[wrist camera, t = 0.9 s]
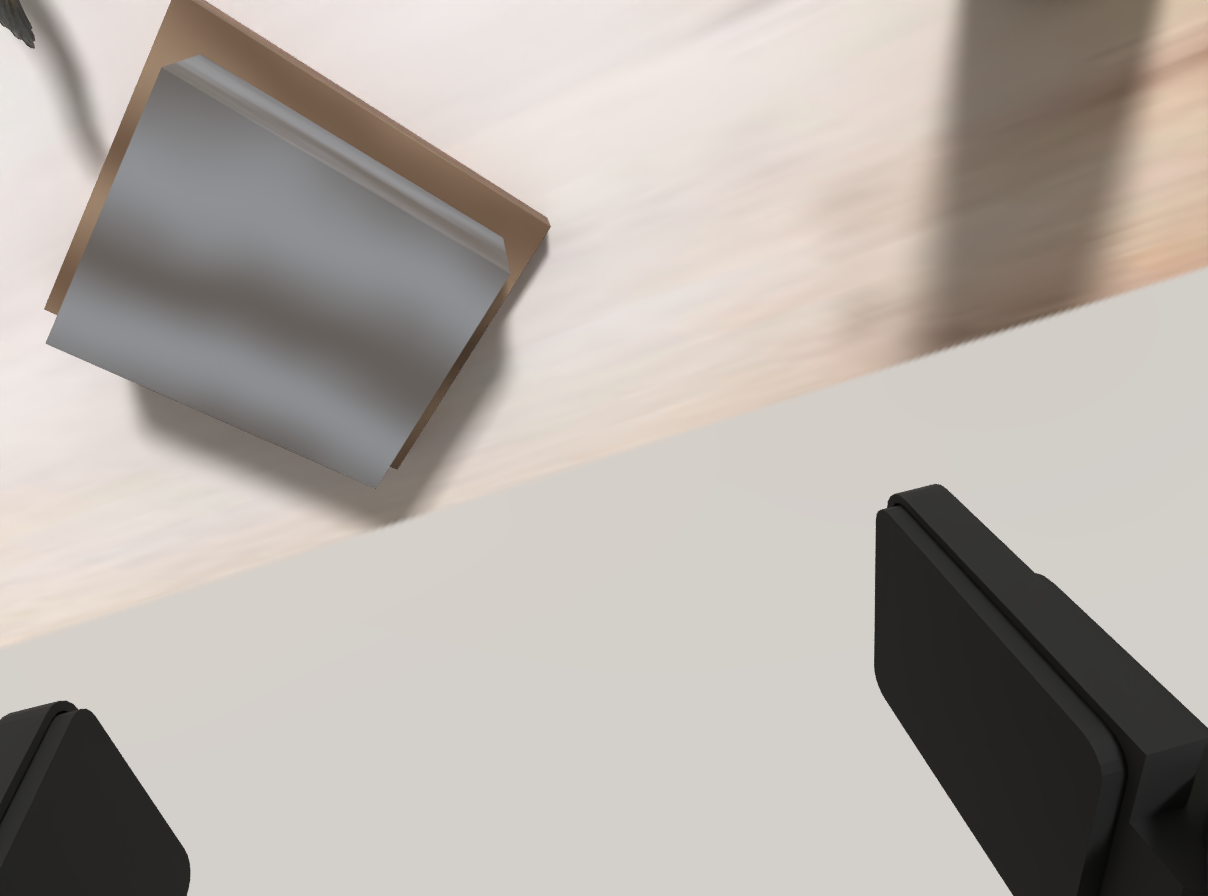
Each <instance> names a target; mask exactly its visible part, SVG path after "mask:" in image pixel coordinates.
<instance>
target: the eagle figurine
mask: <svg viewBox="0 0 1208 896" xmlns="http://www.w3.org/2000/svg"><path fill="white" fill-rule="evenodd" d="M0 23H1V24H2V26H4V27H6V28H8V29H9V30H10V31H11V32H12V33H13V35H14V36H15V37H17V38H18V39H20V40H21V39H22V40H23V41H24V42H25V44H26V45H27V46H29V47H30V48H33V49H34V48H35V46H34V43H33V42H34V41H35V37H34V34H33V32H32V31H31V29H32V26H31V24H30V22H29V20H28V19H27V17H26V15H25V13H24V10H23V8H22V6H21V4H20V1H19V0H0Z"/></svg>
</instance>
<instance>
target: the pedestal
mask: <svg viewBox="0 0 1208 896" xmlns="http://www.w3.org/2000/svg"><path fill="white" fill-rule="evenodd" d="M550 227H551V226H550V224H549V221H548V219H547V218H546V217H545V216H543V215H542V214H540V213H539V212H537V211H535V210H534V209H532V208H531V207H529V206H528V205H526V204H524V203H523V202H521V201H520V200H518V199H517V198H515V197H513V196H512V195H510V194H509V193H507V192H505V191H504V190H502V189H501V188H499V187H498V186H496V185H494V184H493V183H491V182H490V181H488V180H487V179H485V178H483V177H482V176H480V175H479V174H477V173H476V172H474V171H472V170H471V169H469V168H468V167H466V166H465V165H463V164H461V163H460V162H458V161H457V160H455V159H454V158H452V157H450V156H449V155H447V154H446V153H444V152H442V151H441V150H439V149H438V148H436V147H435V146H433V145H431V144H430V143H428V142H427V141H425V140H424V139H422V138H420V137H419V136H417V135H416V134H414V133H413V132H411V131H409V130H408V129H406V128H405V127H403V126H402V125H400V124H398V123H397V122H395V121H394V120H392V119H391V118H389V117H387V116H386V115H384V114H383V113H381V112H379V111H378V110H376V109H375V108H373V107H372V106H370V105H368V104H367V103H365V102H364V101H362V100H361V99H359V98H357V97H356V96H354V95H353V94H351V93H350V92H348V91H346V90H345V89H343V88H342V87H340V86H339V85H337V84H335V83H334V82H332V81H331V80H329V79H327V78H326V77H324V76H323V75H321V74H320V73H318V72H316V71H315V70H313V69H312V68H310V67H309V66H307V65H305V64H304V63H302V62H301V61H299V60H298V59H296V58H294V57H293V56H291V55H290V54H288V53H287V52H285V51H283V50H282V49H280V48H279V47H277V46H276V45H274V44H272V43H271V42H269V41H268V40H266V39H264V38H263V37H261V36H260V35H258V34H257V33H255V32H253V31H252V30H250V29H249V28H247V27H246V26H244V25H242V24H241V23H239V22H238V21H236V20H235V19H233V18H231V17H230V16H228V15H227V14H225V13H224V12H222V11H220V10H219V9H217V8H216V7H214V6H213V5H211V4H209V3H208V2H206V1H205V0H171V2H170V5H169V7H168V10H167V12H166V15H165V17H164V19H163V22H162V24H161V27H160V29H159V32H158V34H157V36H156V39H155V41H154V44H153V46H152V49H151V51H150V53H149V56H148V58H147V61H146V63H145V66H144V68H143V70H142V73H141V75H140V78H139V80H138V83H137V85H136V87H135V90H134V92H133V95H132V97H131V100H130V102H129V104H128V107H127V109H126V112H125V114H124V117H123V119H122V121H121V124H120V126H119V129H118V131H117V134H116V136H115V138H114V141H113V143H112V146H111V148H110V151H109V153H108V155H107V158H106V160H105V163H104V165H103V167H102V170H101V172H100V175H99V177H98V180H97V182H96V184H95V187H94V189H93V192H92V194H91V197H90V199H89V201H88V204H87V206H86V209H85V211H84V214H83V216H82V218H81V221H80V223H79V226H78V228H77V231H76V233H75V235H74V238H73V240H72V243H71V245H70V248H69V250H68V252H67V255H66V257H65V260H64V262H63V265H62V267H61V269H60V272H59V274H58V277H57V279H56V282H55V284H54V286H53V289H52V291H51V294H50V296H49V299H48V301H47V303H46V306H45V308H44V309H45V310H47V311H49V312H51V313H54V314H56V315H57V317H56V320H55V322H54V325H53V327H52V329H51V332H50V334H49V336H48V339H47V341H46V344H48V345H50V346H52V347H55V348H57V349H59V350H62V351H64V352H66V353H68V354H71V355H73V356H75V357H78V358H80V359H82V360H84V361H87V362H89V363H91V364H93V365H96V366H98V367H100V368H103V369H105V370H107V371H109V372H112V373H114V374H116V375H118V376H121V377H123V378H125V379H128V380H130V381H132V382H134V383H137V384H139V385H141V386H143V387H146V388H148V389H150V390H153V391H155V392H157V393H159V394H162V395H164V396H166V397H168V398H171V399H173V400H175V401H178V402H180V403H182V404H184V405H187V406H189V407H191V408H193V409H196V410H198V411H200V412H203V413H205V414H207V415H209V416H212V417H214V418H216V419H218V420H221V421H223V422H225V423H228V424H230V425H232V426H234V427H237V428H239V429H241V430H243V431H246V432H248V433H250V434H253V435H255V436H257V437H259V438H262V439H264V440H266V441H268V442H271V443H273V444H275V445H278V446H280V447H282V448H284V449H287V450H289V451H291V452H293V453H296V454H298V455H300V456H303V457H305V458H307V459H309V460H312V461H314V462H316V463H319V464H321V465H323V466H325V467H328V468H330V469H332V470H334V471H337V472H339V473H341V474H344V475H346V476H348V477H350V478H353V479H355V480H357V481H359V482H362V483H364V484H366V485H369V486H371V487H373V488H375V489H376V487H377V486H378V484H379V483H380V481H381V479H382V478H383V476H384V475H385V473H386V471H387V470H388V468H389V467H392V468H394V469H398V468H399V466H400V464H401V463H402V461H403V460H404V458H405V457H406V455H407V453H408V452H409V450H410V449H411V447H412V445H413V444H414V442H415V441H416V439H417V438H418V436H419V434H420V433H421V431H422V430H423V428H424V426H425V425H426V423H427V422H428V420H429V419H430V417H431V415H432V414H433V412H434V411H435V409H436V408H437V406H438V404H439V403H440V401H441V400H442V398H443V396H444V395H445V393H446V392H447V390H448V389H449V387H450V385H451V384H452V382H453V381H454V379H455V377H456V376H457V374H458V373H459V371H460V370H461V368H462V366H463V365H464V363H465V362H466V360H467V358H468V357H469V355H470V354H471V352H472V351H473V349H474V347H475V346H476V344H477V343H478V341H479V339H480V338H481V336H482V335H483V333H484V332H485V330H486V328H487V327H488V325H489V324H490V322H491V320H492V319H493V317H494V316H495V314H496V313H497V311H498V309H499V308H500V306H501V305H502V303H503V301H504V300H505V298H506V297H507V295H508V294H509V292H510V290H511V289H512V287H513V286H514V284H515V283H516V281H517V279H518V278H519V276H520V275H521V273H522V271H523V270H524V268H525V267H526V265H527V264H528V262H529V260H530V259H531V257H532V256H533V254H534V252H535V251H536V249H537V248H538V246H539V245H540V243H541V241H542V240H543V238H544V237H545V235H546V233H547V232H548V230H549V229H550Z"/></svg>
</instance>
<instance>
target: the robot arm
mask: <svg viewBox="0 0 1208 896" xmlns="http://www.w3.org/2000/svg"><path fill="white" fill-rule="evenodd" d="M875 562H876V563H875V646H874V650H875V651H874V652H875V653H874V668H875V675H876V680H877V682H878V686H879V688H880V690H881V693H882V695H883V696H884V698H885V700H886V701H887V703H888V704H889V706H890V707H891V709H892V710H893V712H894V713H895V715H896V716H897V718H898V720H899V721H900V723H901V724H902V726H903V727H904V729H905V730H906V732H907V733H908V735H909V736H910V738H911V739H912V741H913V742H914V744H915V746H916V747H917V749H918V750H919V752H920V753H921V755H922V756H923V758H924V759H925V761H926V763H927V764H928V766H929V767H930V769H931V770H932V772H933V773H934V775H935V776H936V778H937V779H938V781H939V782H940V784H941V786H942V787H943V788H944V790H945V792H946V793H947V795H948V796H949V798H950V799H951V801H952V802H953V804H954V805H955V807H956V808H957V810H958V812H959V813H960V815H961V816H962V818H963V819H964V821H965V822H966V824H967V825H968V827H969V828H970V830H971V831H972V833H973V835H974V836H975V837H976V839H977V841H978V842H979V844H980V845H981V847H982V848H983V850H984V851H985V853H986V854H987V856H988V858H989V859H990V861H991V862H992V864H993V865H994V867H995V868H996V870H997V871H998V873H999V874H1000V876H1001V877H1002V879H1003V880H1004V882H1005V884H1006V885H1007V887H1008V888H1009V890H1010V891H1011V893H1012V894H1013V896H1208V728H1207V727H1206V726H1205V725H1204V724H1203V723H1202V722H1201V721H1200V720H1199V719H1198V718H1197V717H1195V716H1194V715H1193V714H1192V713H1191V712H1190V711H1189V710H1188V709H1187V708H1186V707H1185V706H1184V705H1183V704H1182V703H1181V702H1179V700H1177V699H1176V698H1175V697H1174V696H1173V695H1172V694H1171V693H1170V692H1169V691H1168V690H1167V689H1166V688H1165V687H1163V686H1162V685H1161V684H1160V683H1159V682H1158V681H1157V680H1156V679H1155V678H1154V677H1153V676H1152V675H1151V674H1150V673H1149V672H1148V671H1147V670H1145V669H1144V668H1143V667H1142V666H1141V665H1140V664H1139V663H1138V662H1137V661H1136V660H1135V659H1134V658H1133V657H1132V656H1131V655H1130V654H1129V653H1127V652H1126V651H1125V650H1124V649H1123V648H1122V647H1121V646H1120V645H1119V644H1118V643H1117V642H1116V641H1115V640H1114V639H1112V637H1110V636H1109V635H1108V634H1107V633H1106V632H1105V631H1104V630H1103V629H1102V628H1101V627H1100V626H1099V625H1098V624H1097V623H1096V622H1094V621H1093V620H1092V619H1091V618H1090V617H1089V616H1088V615H1087V614H1086V613H1085V612H1084V611H1083V610H1082V609H1081V608H1080V607H1078V605H1076V604H1075V603H1074V602H1073V601H1072V600H1071V599H1070V598H1069V597H1068V596H1067V595H1066V594H1065V593H1064V592H1063V591H1062V590H1060V589H1059V588H1058V587H1057V586H1056V585H1055V584H1054V583H1053V582H1051V581H1050V580H1048V579H1047V578H1046V577H1045V576H1043V575H1040V574H1037V573H1034V572H1033V571H1032V570H1031V569H1030V568H1029V567H1028V566H1027V565H1026V564H1025V563H1024V562H1023V561H1021V559H1020V558H1018V557H1017V556H1016V555H1015V554H1014V553H1013V552H1012V551H1011V550H1010V549H1009V548H1008V547H1007V546H1006V545H1005V544H1004V543H1003V542H1002V541H1001V540H999V539H998V538H997V537H996V536H995V535H994V534H993V533H992V532H991V531H990V530H989V529H988V528H987V527H986V526H985V525H984V524H983V523H982V522H981V521H980V520H979V519H978V518H977V517H975V516H974V515H973V514H972V513H971V512H970V511H969V510H968V509H967V508H966V507H965V506H964V505H963V504H962V503H961V502H960V501H959V500H958V499H957V498H956V497H954V496H953V495H952V494H951V493H950V492H949V491H948V490H947V489H946V488H944V487H943V486H942V485H939V484H934V485H929V486H925V487H921V488H917V489H913V490H909V491H905V492H901V493H897V494H894V495H892V496H891V497H890V499H889V500H888V506H887V508H886V509H882V510H880V511H878V513H877V517H876V558H875ZM189 882H190V863H189V859H188V855H187V853H186V851H185V849H184V848H183V846H182V845H181V843H180V842H179V840H178V839H177V837H176V836H175V834H174V833H173V831H172V830H171V828H170V827H169V825H168V824H167V823H166V821H165V819H164V818H163V816H162V815H161V813H160V812H159V810H158V809H157V807H156V806H155V804H154V803H153V802H152V800H151V799H150V797H149V795H148V794H147V792H146V791H145V789H144V788H143V787H142V785H141V784H140V782H139V781H138V779H137V778H136V776H135V775H134V773H133V772H132V770H131V769H130V767H129V766H128V764H127V763H126V761H125V760H124V758H123V757H122V755H121V754H120V752H119V751H118V749H117V748H116V746H115V745H114V743H113V742H112V740H111V739H110V737H109V736H108V734H107V733H106V731H105V730H104V728H103V727H102V725H101V724H100V722H99V721H98V719H97V718H96V716H95V715H94V714H93V713H92V712H91V711H89V710H87V709H80V710H78V709H77V708H76V707H75V705H74V704H72V703H70V702H68V701H58V702H53V703H49V704H45V705H41V706H37V707H33V708H29V709H25V710H21V711H18V712H13V713H9V714H8V715H6V716H4V717H2V719H1V720H0V896H187V892H188V888H189Z"/></svg>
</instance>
